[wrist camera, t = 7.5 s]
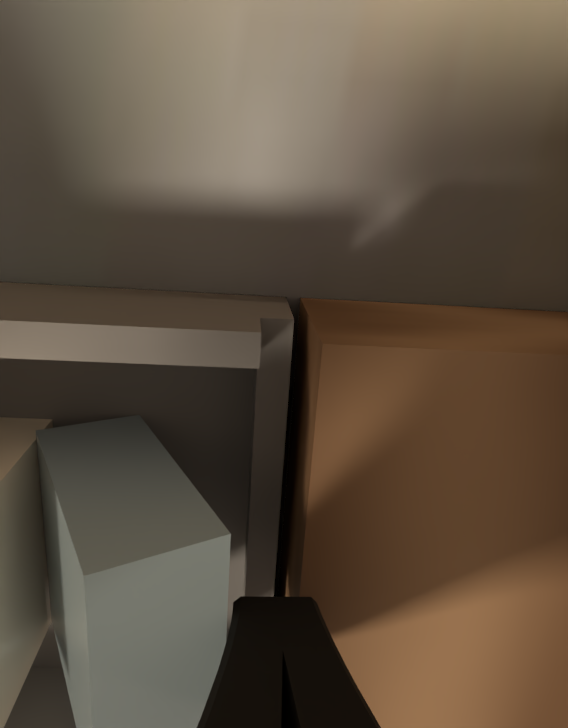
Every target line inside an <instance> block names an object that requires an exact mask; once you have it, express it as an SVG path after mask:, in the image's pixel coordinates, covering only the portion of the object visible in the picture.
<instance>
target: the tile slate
mask: <svg viewBox="0 0 568 728" xmlns="http://www.w3.org/2000/svg"><path fill="white" fill-rule="evenodd" d="M35 431H36V443H37V455H38V466H39V478H40V490H41V502H42V514H43V526H44V538H45V550H46V562H47V573H48V585H49V597H50V609H51V620H52V624H53V628H54V633H55V637H56V641H57V646H58V650H59V654H60V659H61V663H62V668H63V672H64V676H65V681H66V685H67V689H68V694H69V698H70V702H71V707H72V711H73V716H74V720H75V724H76V728H197V726H198V723H199V721H200V718H201V716H202V713H203V710H204V707H205V705H206V702H207V699H208V696H209V694H210V691H211V688H212V685H213V682H214V680H215V677H216V674H217V671H218V668H219V665H220V662H221V658H222V655H223V652H224V648H225V645H226V634H227V611H228V588H229V565H230V541H231V533H230V532H229V531H228V529H227V528H226V527H225V526H224V524H223V523H222V522H221V520H220V519H219V518H218V516H217V515H216V514H215V513H214V511H213V510H212V509H211V507H210V506H209V505H208V503H207V502H206V501H205V500H204V498H203V497H202V496H201V494H200V493H199V492H198V490H197V489H196V488H195V487H194V485H193V484H192V483H191V481H190V480H189V479H188V477H187V476H186V475H185V474H184V472H183V471H182V470H181V468H180V467H179V466H178V464H177V463H176V462H175V461H174V459H173V458H172V457H171V455H170V454H169V453H168V451H167V450H166V449H165V447H164V446H163V445H162V444H161V442H160V441H159V440H158V438H157V437H156V436H155V434H154V433H153V432H152V431H151V429H150V428H149V427H148V425H147V424H146V423H145V421H144V420H143V419H142V418H141V416H140V415H134V416H128V417H121V418H115V419H108V420H101V421H95V422H88V423H82V424H75V425H68V426H62V427H55V428H49V429H42V430H35Z"/></svg>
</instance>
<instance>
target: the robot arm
mask: <svg viewBox="0 0 568 728" xmlns="http://www.w3.org/2000/svg"><path fill="white" fill-rule="evenodd" d="M197 728H381V727H380V725H379V723H378V722H377V720H376V718H375V716H374V715H373V713H372V711H371V709H370V708H369V706H368V704H367V703H366V701H365V699H364V697H363V696H362V694H361V692H360V690H359V689H358V687H357V685H356V683H355V681H354V680H353V678H352V676H351V674H350V672H349V670H348V668H347V666H346V664H345V662H344V661H343V659H342V657H341V655H340V653H339V651H338V649H337V647H336V645H335V643H334V641H333V638H332V636H331V634H330V632H329V630H328V628H327V626H326V623H325V621H324V619H323V616H322V614H321V612H320V609H319V607H318V604H317V602H316V601H315V600H314V599H313V598H312V597H258V596H241V597H239V598H238V599H237V600H235V601H234V602H233V612H232V619H231V624H230V629H229V633H228V637H227V641H226V645H225V648H224V652H223V655H222V658H221V662H220V665H219V668H218V671H217V674H216V677H215V680H214V682H213V685H212V688H211V691H210V694H209V696H208V699H207V702H206V705H205V707H204V710H203V713H202V716H201V718H200V721H199V723H198V726H197Z"/></svg>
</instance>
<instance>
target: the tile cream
mask: <svg viewBox="0 0 568 728" xmlns="http://www.w3.org/2000/svg"><path fill="white" fill-rule="evenodd" d="M49 428H53V423H52V419H31V418H7V417H0V728H4V726H5V724H6V722H7V720H8V717H9V715H10V713H11V711H12V708H13V706H14V704H15V702H16V699H17V697H18V695H19V693H20V690H21V688H22V686H23V684H24V682H25V679H26V677H27V675H28V673H29V670H30V668H31V666H32V664H33V661H34V659H35V657H36V655H37V653H38V650H39V648H40V646H41V644H42V641H43V639H44V637H45V635H46V632H47V630H48V628H49V626H50V624H51V621H52V620H51V609H50V597H49V585H48V573H47V562H46V550H45V538H44V526H43V514H42V502H41V490H40V478H39V466H38V455H37V443H36V431H35V430H42V429H49Z"/></svg>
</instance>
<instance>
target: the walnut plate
mask: <svg viewBox="0 0 568 728" xmlns="http://www.w3.org/2000/svg"><path fill="white" fill-rule="evenodd" d="M277 597H312V598H313V599H314V600H315V601H316V602H317V604H318V607H319V609H320V612H321V614H322V616H323V619H324V621H325V623H326V626H327V628H328V630H329V632H330V634H331V636H332V638H333V641H334V643H335V645H336V647H337V649H338V651H339V653H340V655H341V657H342V659H343V661H344V662H345V664H346V666H347V668H348V670H349V672H350V674H351V676H352V678H353V680H354V681H355V683H356V685H357V687H358V689H359V690H360V692H361V694H362V696H363V697H364V699H365V701H366V703H367V704H368V706H369V708H370V709H371V711H372V713H373V715H374V716H375V718H376V720H377V722H378V723H379V725H380V727H381V728H568V312H558V311H539V310H520V309H501V308H482V307H463V306H445V305H426V304H407V303H388V302H369V301H350V300H331V299H312V298H300V307H299V320H298V333H297V346H296V359H295V372H294V385H293V398H292V412H291V425H290V438H289V451H288V464H287V477H286V490H285V503H284V516H283V529H282V542H281V555H280V568H279V581H278V594H277Z"/></svg>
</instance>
